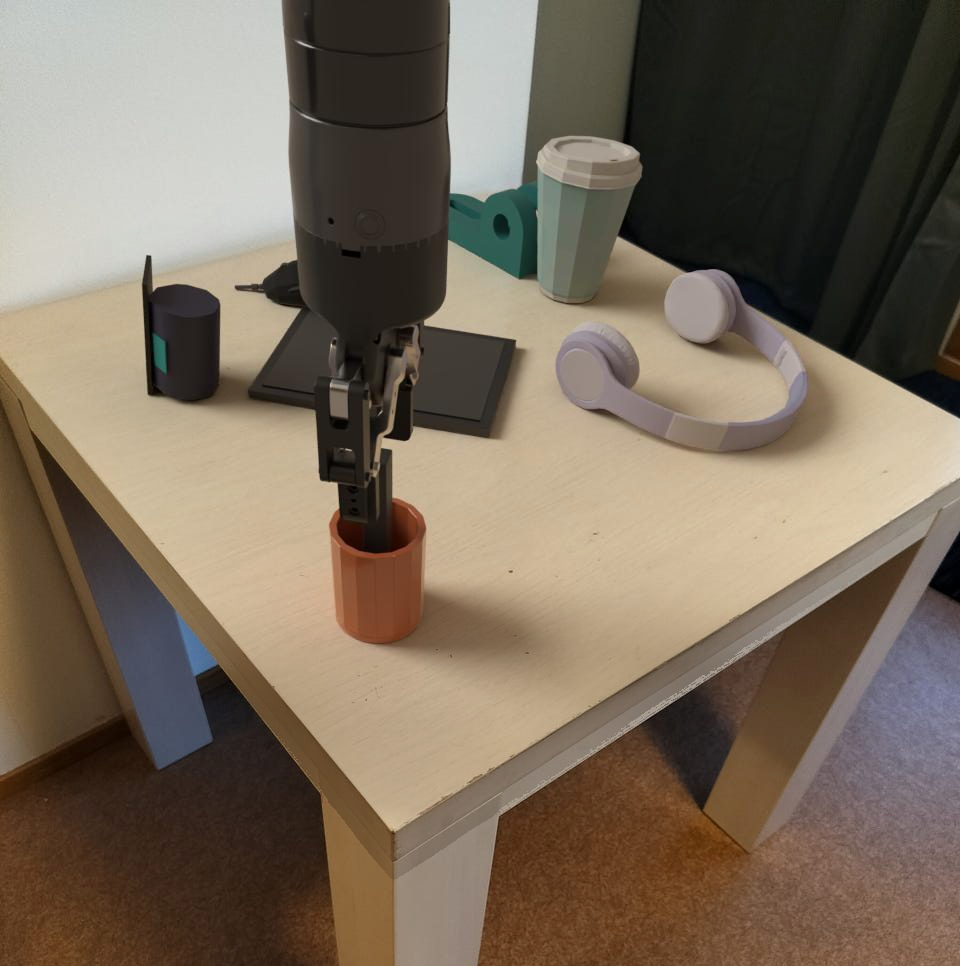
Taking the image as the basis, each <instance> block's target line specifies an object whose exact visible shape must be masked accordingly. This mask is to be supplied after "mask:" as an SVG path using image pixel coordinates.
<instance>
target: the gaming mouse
mask: <svg viewBox="0 0 960 966" xmlns="http://www.w3.org/2000/svg"><path fill="white" fill-rule="evenodd" d="M234 289H235V290H252V291H259V290H260V291H262V292H263V293H264V295H265V298H267V299H268V300H270V301H273V302H274V303H278V304H280V305H287V306H288V305H289V306H295V307H303V306H304V307H308V306H307V305H306V304H305V302H304V300H303V298H302V296H301V293H300V285H299V274H298V263H297V259H295V260H291V261H290V262H286V261H285V262H282V263H281V264H280V265H279V267H277V269H275V270H273V271H272V272H271V273H269V274H268V275H267V276H266V277H264V278H263V280H262V282H261V283H251V284H235V285H234Z"/></svg>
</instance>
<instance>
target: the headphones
mask: <svg viewBox="0 0 960 966" xmlns="http://www.w3.org/2000/svg"><path fill="white" fill-rule="evenodd" d="M663 305H664V307H663V308H664V315H665V317H666V320H667V322H668V324H669V325H670V327H671V328H672V329H673V331H674V332H675V333H676V334H677V335H679V336H681V337H682V338H683V339H685V340H688V341H690V342H691V343H692V342H693V343H696V344H709V343H712V342H714V341H716V340H718V339H719V338H721V337H723V336H724V335H725V334H727V333H733V334H736V335H737V336H740V337H742V338H743V339H744V340H746V341H747V342H748V343H750V344H751V345H752V346H753V347H754V348H756V349H757V350H758V351H759V352H760V353H761V354H763V355H764V357H766V358H767V359H768V361H770V363H772V365H773V366H774V367H775V368H776V370H777V371H778V373H779V374H780V376H781V377H782V379H783V381H784V383H785V385H786V387H787V391H788V398H787V402H786V404H785V406H784V407H783V408H782V409H781V410H779V411H777V412H776V413H774V414H773V415H771V416H768V417H765V418H763V419H759V420H755V421H754V420H753V421H742V422H740V421H739V422H737V421H735V422H734V421H728V422H723V421H715V420H710V419H703V418H700V417H695V416H691V415H687V414H684V413H680V412H678V411H675V410H672V409H669V408H667V407H664V406H662V405H660V404H658V403H656V402H653V401H652V400H649V399H647V398H645V397H643V396H641V395H640V394H638V393H636V392H634V391H632V390H631V389H632V388H633V387H634V386H635V385H636V384H637V382H638V380H639V379H640V360H639V357H638V355H637V353H636V350H635V349H634V346H632V344H631V342H630V341H629V340H628V338H627V337H626V336H625V335H624V334H622V332H621V331H619V330H618V329H617V328H615V327H613V326H612V325H609V324H607V323H605V322H600V321H592V320H591V321H584V322H582V323H580V324H579V325H577V326H576V327H575V328H574V329H573V330H572V332H571V333H569V334H568V335H567V336H566V337H565V338H564V339H563V340H562V342H561V344H560V347H559V350H558V351H557V353H556V356H555V363H554V365H555V366H554V367H555V374H556V379H557V382H558V384H559V386H560V387H559V388H561V390H562V392H563V393H564V395H565V396H566V397H567V399H568V400H569V401H571V402H572V404H574V405H575V406H577V407H579V408H582V409H585V410H598V409H601V410H607V411H608V412H610V413H612V414H614V415H616V416H618V417H619V418H621V419H623V420H625V421H626V422H628V423H630V424H632V425H633V426H636V427H638V428H639V429H642V430H644V431H646V432H648V433H651V434H654V435H656V436H658V437H661V438H663V439H665V440H668V441H672V442H674V443H677V444H680V445H683V446H689V447H693V448H699V449H706V450H713V451H715V450H716V451H740V450H741V451H743V450H750V449H754V448H759V447H762V446H766V445H768V444H770V443H772V442H774V441H776V440H777V439H779V438H780V437H781V436H783V435H784V434H785V433H787V431H788V430H789V429H790V428H791V427H792V425H793V423H794V421H795V419H796V417H797V415H798V414H799V411H800V410H801V408H802V406H803V404H804V402H805V400H806V398H807V395H808V391H809V378H808V377H809V376H808V374H807V370H806V367H805V364H804V361H803V360H802V358H801V355H800V353H799V352H798V351H797V349H796V348H795V346H794V345H793V344H792V342H791V341H790V340H789V339H788V338H787V337H786V335H784V334H783V333H782V332H781V331H780V330H779V329H777V328H776V327H775V325H773V324H772V323H771V322H770V321H768V320H767V319H766V318H764V316H762V315H760V314H759V313H758V312H756V311H755V310H754V309H752V308H751V307H750V306H749V305H748V304H747V303H746V301H745V299H744V298H743V296H742V292H741V290H740V287H739V286H738V284H737V282H736V281H735V279H734V278H733V277H732V276H731V275H730V274H728V273H727V272H725V271H723V270H720V269H716V268H715V269H714V268H713V269H699V270H695V271H694V270H693V271H692V272H686V273H685V272H684V273H682V274H680V275H678V276H676V277H675V278H674V279H673V280H672V281H671V283H670V285H669V287H668V289H667V291H666V293H665V297H664V301H663Z"/></svg>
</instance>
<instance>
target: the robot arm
mask: <svg viewBox="0 0 960 966" xmlns="http://www.w3.org/2000/svg"><path fill="white" fill-rule="evenodd" d="M281 18H282V21H281V22H282V27H283V40H284V52H285V53H284V54H285V64H286V75H287V87H288V88H287V89H288V111H289V118H288V119H289V121H288V123H289V125H288V147H287V149H288V150H287V155H288V156H287V157H288V170H289V182H290V183H289V184H290V194H291V195H290V196H291V204H292V216H293V217H292V218H293V229H294V238H295V239H294V240H295V250H296V260H297V263H298V274H299V285H300V293H301V296H302V298H303V300H304V302H305V304H306V305H307V306H308V307H309V309H311V310H312V311H313V312H314V313H315V314H316V315H318V316H320V317H322V318H323V319H324V320H326V321H327V322H328V323H329V324H330V325H331V326H332V327H333V328H334V329H335V330H336V331H337V334H338V336H337V338H335V337H334V338H333V339H332V342H331V346H330V354H329V367H330V369H331V371H332V376H325V375H318V376H317V378H316V381H315V383H314V395H315V409H314V410H315V424H316V425H315V426H316V427H315V428H316V445H317V459H318V474H319V475H318V477H319V480H320V482H325V483H333V484H334V483H335V484H337V495H338V498H337V499H338V509H339V513H340V517H341V518H342V519H343V520H344V521H346V522H351V523H357V524H363V525H369V526H371V525H374V524H375V523H376V522H377V519H378V517H379V514H380V509H379V469H380V462H379V459H380V452H381V448H382V444H383V439H387V440H393V441H400V442H407V441H409V440H410V439H411V436H412V434H413V432H414V425H413V386H410V385H415V384H416V380H418V376H419V372H418V365H419V361H422V358H423V356H424V355H425V347H424V325H425V321H426V320H428V319H429V318H431V317H433V316H434V315H435V314H436V313H437V312H438V311H439V310H440V308H442V306H443V304H444V302H445V299H446V297H447V288H448V287H447V286H448V284H447V283H448V282H447V281H448V260H449V259H448V258H449V257H448V254H449V253H448V252H449V251H448V250H449V239H448V233H449V207H450V193H451V181H452V179H451V176H452V153H451V143H450V142H451V141H450V132H449V109H448V108H449V106H448V103H449V77H450V76H449V75H450V51H451V50H450V49H451V47H450V46H451V35H450V34H451V0H281ZM371 406H374V407H376V408H377V416H376V417H369V409H370V408H371Z"/></svg>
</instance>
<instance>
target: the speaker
mask: <svg viewBox="0 0 960 966" xmlns="http://www.w3.org/2000/svg"><path fill="white" fill-rule="evenodd" d="M152 259H153V258H152V255H149V254H146V255H145V261H144V267H143V274H142V280H141V290H142V291H141V293H142V294H141V296H142V297H141V298H142V314H143V334H144V335H143V336H144V352H145V371H146V373H145V374H146V391H147V392H146V393H147V396H153V394H154V393H153V392H154V386H155V387H156V388H157V389H158V390H159V391H161V392H162V393H163V394H164V395H166V396H170V397H173V398H178V399H181V400H184V401H187V400H188V401H189V400H190V401H197V400H199V399H200V400H201V399H203V398H207V397H211V396H214V394H215V392H216V391H217V390H218V389H219V387H220V374H221V373H220V368H221V367H220V363H221V301H220V299H219V298H218V297H217V296H215V295H214V294H213V293H211V292H210V291H209V290H207V289H205V288H201V287H197V286H193V285H191V284H184V283H172V284H166V285H162V286H157V287H156V288H155V289H154V285H153V262H152Z"/></svg>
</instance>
